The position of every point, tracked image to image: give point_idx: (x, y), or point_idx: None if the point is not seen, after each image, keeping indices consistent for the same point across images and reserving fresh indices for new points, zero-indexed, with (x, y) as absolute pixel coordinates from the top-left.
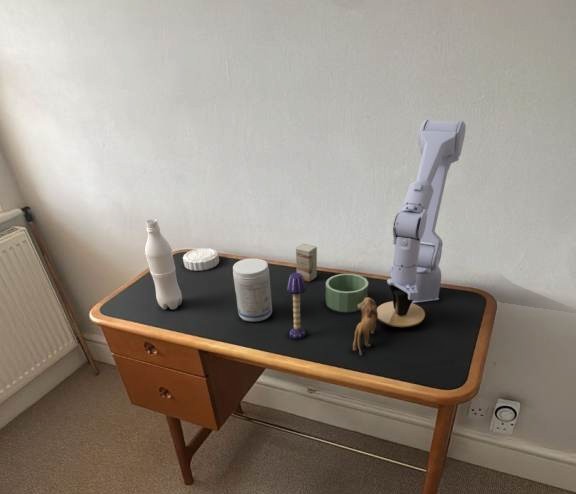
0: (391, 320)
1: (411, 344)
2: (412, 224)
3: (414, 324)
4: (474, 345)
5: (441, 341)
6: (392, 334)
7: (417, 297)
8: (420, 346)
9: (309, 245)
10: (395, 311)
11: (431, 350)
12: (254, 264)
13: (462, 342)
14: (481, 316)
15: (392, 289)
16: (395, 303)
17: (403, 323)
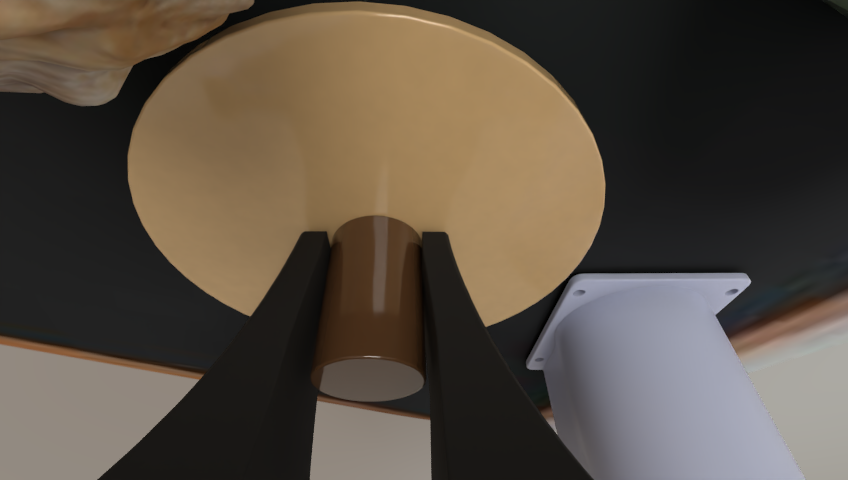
0: (226, 149)
1: (30, 165)
2: None
3: (190, 273)
4: (138, 361)
5: (139, 296)
6: (163, 75)
7: (571, 338)
8: (27, 206)
9: None
10: (370, 230)
11: (3, 242)
12: None
13: (153, 343)
14: (363, 403)
15: (446, 473)
16: (425, 288)
17: (178, 222)
